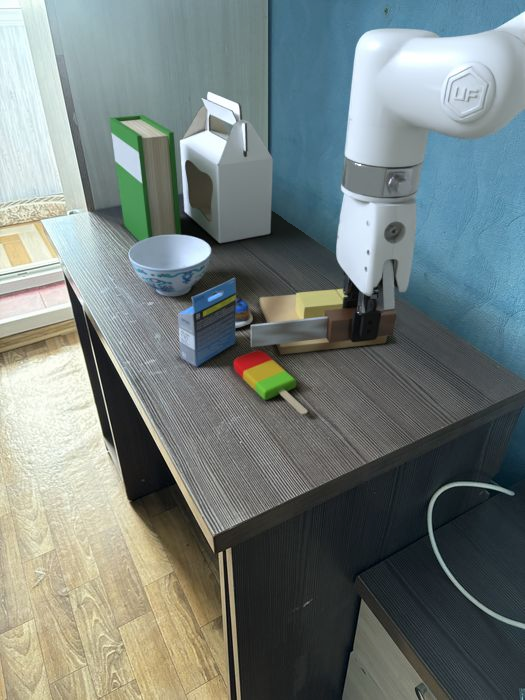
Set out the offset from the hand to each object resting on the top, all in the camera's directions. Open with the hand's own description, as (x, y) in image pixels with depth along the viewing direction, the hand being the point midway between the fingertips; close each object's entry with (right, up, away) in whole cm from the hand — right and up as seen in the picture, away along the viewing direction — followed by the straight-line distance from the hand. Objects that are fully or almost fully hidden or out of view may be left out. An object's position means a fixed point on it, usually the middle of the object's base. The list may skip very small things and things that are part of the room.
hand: (358, 331), depth 62 cm
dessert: (-17, +3, +29) cm, 34 cm away
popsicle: (-10, -8, +14) cm, 19 cm away
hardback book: (-37, +24, +58) cm, 73 cm away
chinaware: (-28, +10, +38) cm, 48 cm away
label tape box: (-20, -3, +21) cm, 29 cm away
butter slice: (+3, +4, +29) cm, 29 cm away
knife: (-4, -1, -1) cm, 5 cm away
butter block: (-2, +4, +28) cm, 28 cm away
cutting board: (-1, +3, +29) cm, 29 cm away
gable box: (-20, +29, +65) cm, 74 cm away
